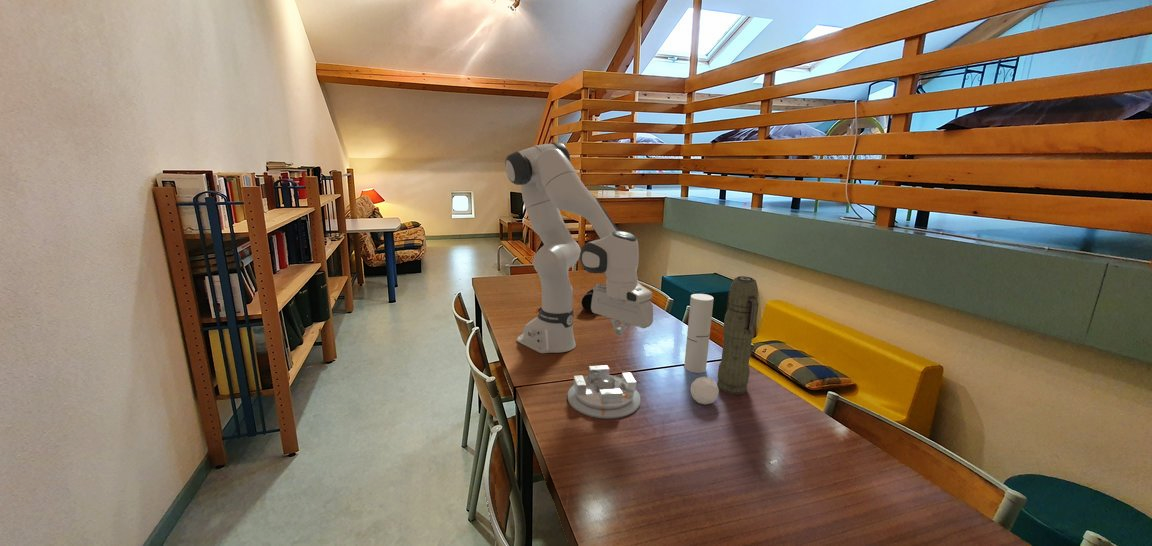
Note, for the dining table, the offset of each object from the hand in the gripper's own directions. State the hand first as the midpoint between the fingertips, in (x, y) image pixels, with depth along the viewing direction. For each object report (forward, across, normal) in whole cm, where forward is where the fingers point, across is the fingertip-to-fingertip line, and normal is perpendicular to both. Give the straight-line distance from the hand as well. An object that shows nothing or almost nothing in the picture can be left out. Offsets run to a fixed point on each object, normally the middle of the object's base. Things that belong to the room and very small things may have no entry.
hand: (619, 334), depth 134 cm
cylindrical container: (+18, +10, +30) cm, 37 cm away
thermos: (+18, +24, +26) cm, 40 cm away
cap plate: (+18, +1, -7) cm, 19 cm away
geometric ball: (+18, +22, +12) cm, 31 cm away
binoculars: (+18, -47, +59) cm, 77 cm away
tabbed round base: (+17, +1, -7) cm, 18 cm away
